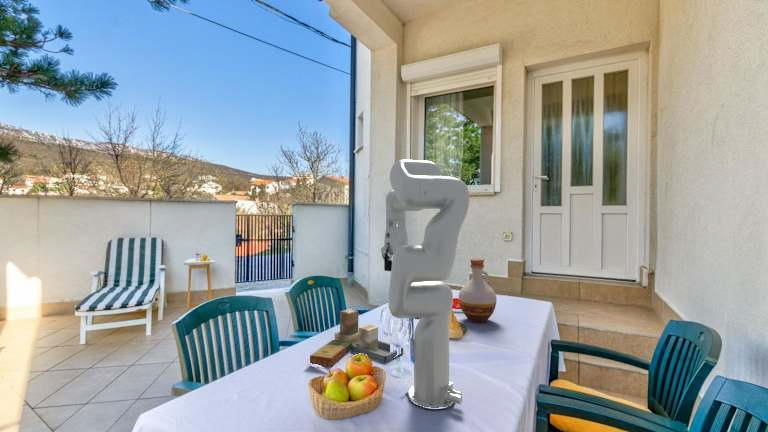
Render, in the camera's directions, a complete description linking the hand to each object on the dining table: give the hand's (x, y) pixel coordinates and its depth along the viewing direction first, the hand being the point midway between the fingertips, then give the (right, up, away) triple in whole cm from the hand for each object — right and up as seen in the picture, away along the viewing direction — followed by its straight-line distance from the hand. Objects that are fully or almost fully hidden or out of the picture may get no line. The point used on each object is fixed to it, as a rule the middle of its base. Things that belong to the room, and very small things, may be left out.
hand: (395, 269), depth 126 cm
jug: (+42, -31, +34) cm, 62 cm away
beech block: (-10, -28, -5) cm, 31 cm away
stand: (-18, -30, +1) cm, 34 cm away
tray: (-7, -29, -8) cm, 31 cm away
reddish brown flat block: (-23, -30, -12) cm, 39 cm away
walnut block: (-18, -24, +1) cm, 30 cm away
